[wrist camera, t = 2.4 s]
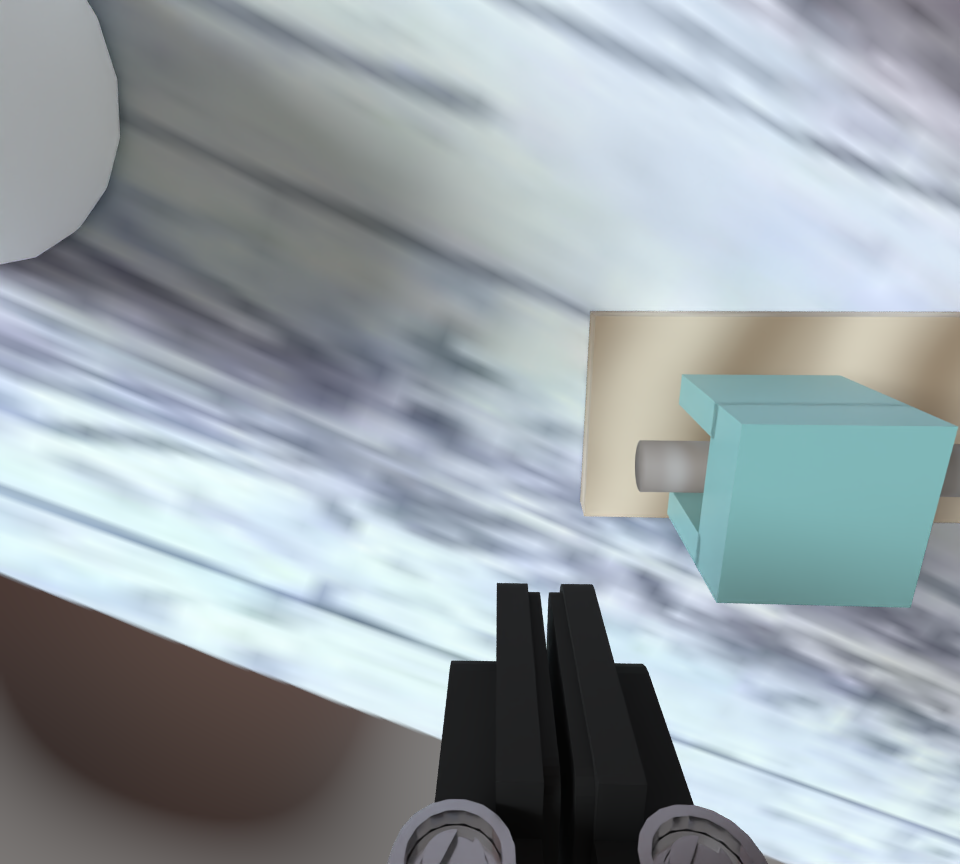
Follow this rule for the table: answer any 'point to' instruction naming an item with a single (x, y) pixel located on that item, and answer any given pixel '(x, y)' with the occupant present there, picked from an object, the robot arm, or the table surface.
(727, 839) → the robot arm
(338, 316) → the table surface
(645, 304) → the table surface
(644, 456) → the wooden slide rail
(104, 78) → the white jar
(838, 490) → the sleeve
